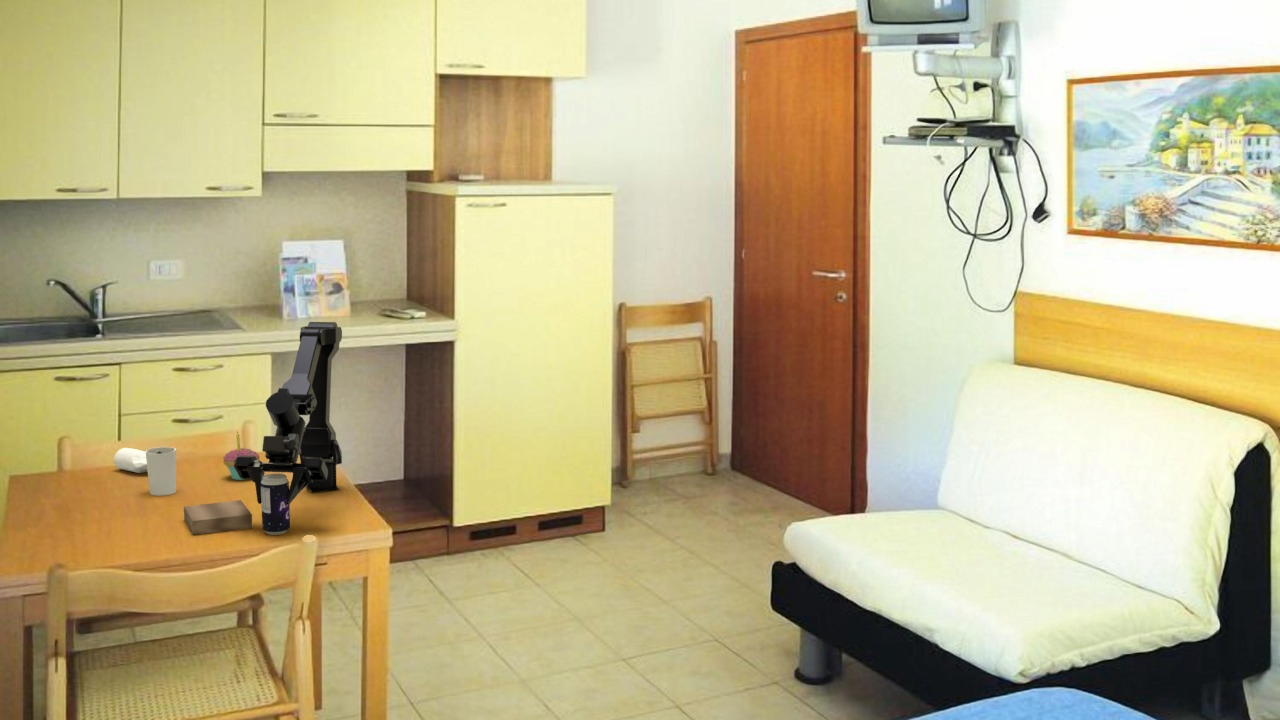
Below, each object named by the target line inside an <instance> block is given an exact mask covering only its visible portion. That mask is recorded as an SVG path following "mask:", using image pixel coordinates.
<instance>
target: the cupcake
mask: <svg viewBox="0 0 1280 720" xmlns="http://www.w3.org/2000/svg"><path fill="white" fill-rule="evenodd" d="M235 436H236V447H237V448H236V449H232V450H230V451H229V452H227V453H225V455H224V456H223V462H222V463H223V464H224V466H226V467H227V469H228V470H229V473H230V475H231V479H233V480H236V481H245V480H247V479H242V478H240V477H239V475H238V473H237V471H236V469H235V467H234V462H235V459H236V458H237V457H238V456H239V455H241V456H255V457H256V459H257V461H261V460H260V456H259V454H258V452H256V451H254V450H252V449H250V448H244V447H242V448H241V441H240V434H239V432H238V430H237V431H236V434H235Z"/></svg>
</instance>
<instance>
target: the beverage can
mask: <svg viewBox="0 0 1280 720" xmlns="http://www.w3.org/2000/svg"><path fill="white" fill-rule="evenodd" d="M287 477H288V476H287V475H286V474H284V473H269V474H268V473H267V474H266V475H265V474H264V476H263V477H262V478H263V479H262V481H261V504H260V505H261V506H260V507H261V526H262V527H261V528H262V530H263V532H265V533H266V534H268V535H271V536H272V535H273V536H277V535H278V536H279V535H283V534H286V533H287V532H288V531H289V530H290V529H291V508H290V507H291V506H290V504H291V503H290V504H289V505H287V503H286V501H287V495H288V492H289V488H290V484H289V483H290V481H289V480H288V478H287Z"/></svg>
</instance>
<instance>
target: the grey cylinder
mask: <svg viewBox="0 0 1280 720" xmlns="http://www.w3.org/2000/svg"><path fill="white" fill-rule="evenodd" d="M145 452H146V460H147V470H148V471H147V477H148V488H149V490H148V491H149V494H150V495H151V496H159V497H160V496H168V495H174V494H175V493H177V448H176V447H171V446H159V447H151V448H149V449H146V450H145Z"/></svg>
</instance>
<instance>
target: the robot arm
mask: <svg viewBox="0 0 1280 720" xmlns="http://www.w3.org/2000/svg"><path fill="white" fill-rule="evenodd" d="M342 337H343V329H342V327H341V326H338V324H337V322H336V321H309V322H308V324H307V325H306V326H301V327H300V332H299V346H298V350H297V354H296V357H295V362H294V366H293V370H292V373H291V377H290V378H289V379H287V380H286V381H285V382H284V383H283V385H282V387H278V390H277V391H276V392H274V393H273V394H271V395H270V396H269V397H268V398H267V399H266V400H265V408H266V409H267V412H268V414H269V417H270V419H271V421H272V423H273V425H274V426H276V429H275V433H274V435H264V436H263V440H262V441H263V442H262V449H261V450H262V452H264V453H265V455H264V457H265V458H266V460H268V462H267V461H266V462H265V461H263V462H262V460H260V461H257V459H256V457H255V456H241V455H239V456H238V457H237V458H236V459H235V462H234V467H235V469H236V471H237V473H238V475H239V477H240V478H242V479H246V480H251V481H252V483H254V484H255V491H256V492H255V494H256V498H257V499H256V500H257V503H258V504H259V505H261V481H262V479H263V478H262V477H263V476H265V473H266V472H267V473H291V474H292V478H291V482H290V484H289V492H288V495H287V501H286V503H287V505H289V504H291V503H292V502H293V501H294V499H295V498H296V497H297V496H298V495H299V494H300V492H302V491H303V490H304V489H305V488H307V490H308V491H309V492H310V493H320V492H328V491H330V492H331V491H337V490H339V488H340V487H339V486H338V485H337V466H338V465H342V464H343V455H342V449H341V446H340V444H339V442H338V440H337V436H336V435H337V434H336V433H337V432H336V431H335V429H334V427H333V426H332V424H331V423H330V417H331V416H330V413H331V392H332V391H331V386H332V385H331V384H332V364H333V363H332V360H333V359H334V357H335V356H336V354H337V353H338V351H339V349H340V342H342V339H343V338H342ZM303 416H309V417H308V422H307V423H306V421H305V419H304V418H303ZM298 458H299V460H300V462H298Z"/></svg>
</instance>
